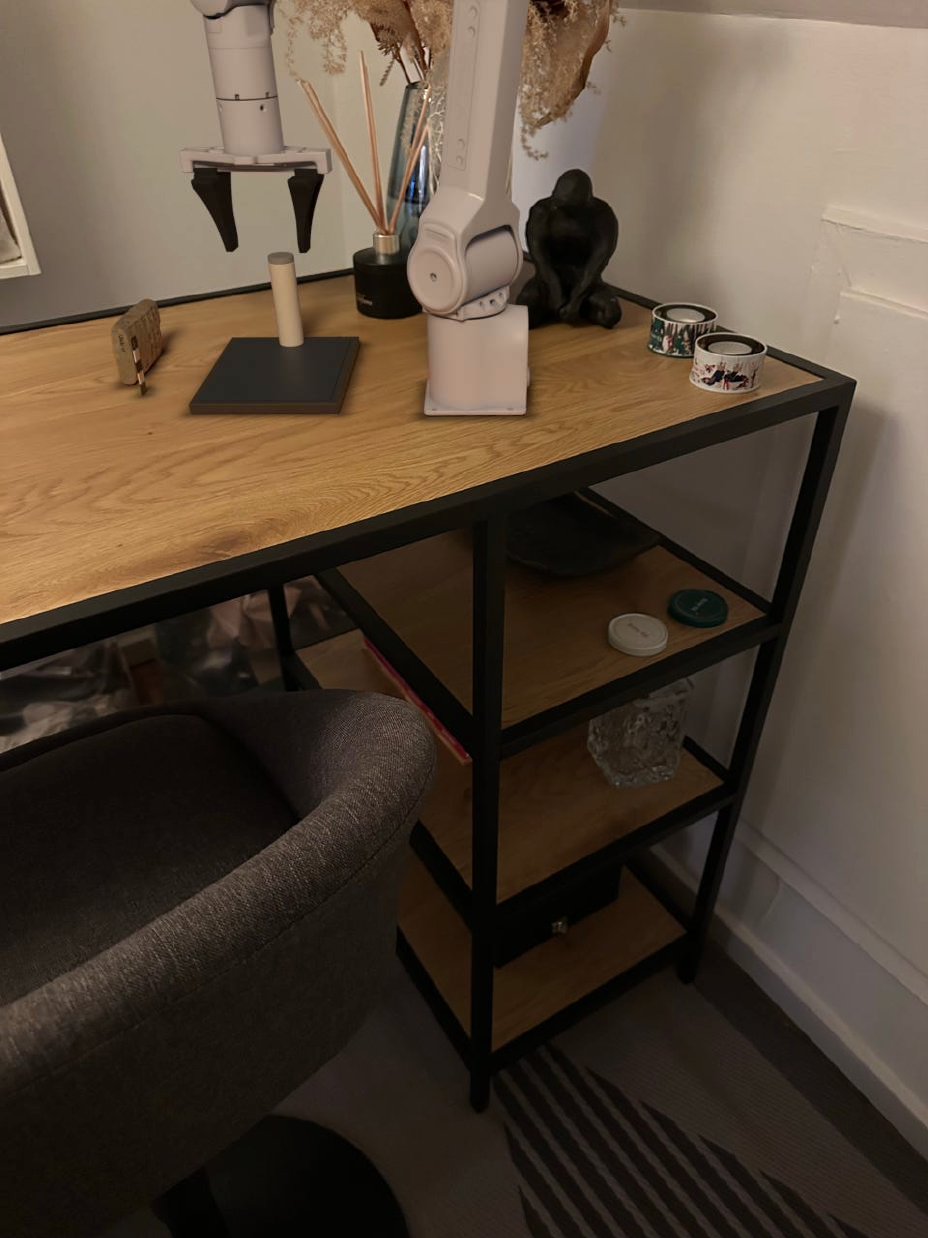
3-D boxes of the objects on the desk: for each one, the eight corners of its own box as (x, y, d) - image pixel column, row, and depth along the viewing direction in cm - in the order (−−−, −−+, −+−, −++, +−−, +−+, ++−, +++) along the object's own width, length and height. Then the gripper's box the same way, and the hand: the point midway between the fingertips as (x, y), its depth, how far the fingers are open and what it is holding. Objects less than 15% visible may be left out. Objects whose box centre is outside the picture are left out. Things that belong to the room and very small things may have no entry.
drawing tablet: (359, 345, 96) (359, 335, 95) (339, 413, 81) (337, 402, 81) (233, 345, 96) (231, 336, 95) (190, 414, 82) (188, 403, 81)
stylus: (306, 338, 94) (296, 251, 89) (300, 347, 92) (289, 258, 87) (283, 338, 95) (271, 251, 89) (277, 346, 92) (264, 258, 87)
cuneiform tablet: (131, 337, 82) (170, 298, 91) (91, 335, 82) (135, 296, 91) (143, 396, 85) (180, 352, 95) (105, 394, 85) (145, 350, 95)
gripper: (155, 102, 79) (186, 259, 87) (312, 102, 77) (328, 261, 85) (183, 92, 84) (210, 241, 92) (330, 92, 83) (344, 243, 91)
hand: (268, 250), depth 89 cm, fingers open, 7 cm apart
